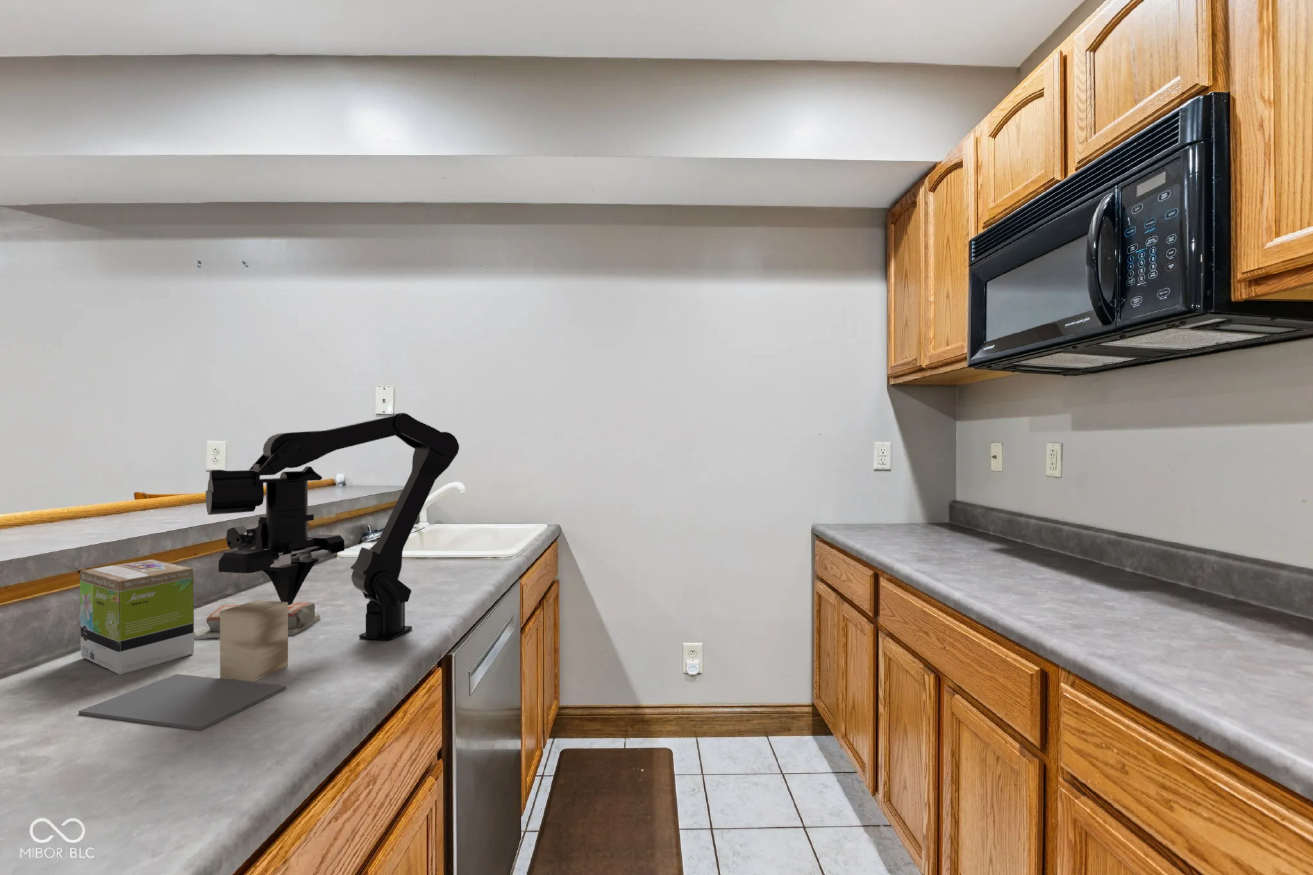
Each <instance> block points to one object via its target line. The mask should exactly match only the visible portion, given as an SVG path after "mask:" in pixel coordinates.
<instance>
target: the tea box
mask: <svg viewBox="0 0 1313 875" xmlns="http://www.w3.org/2000/svg"><path fill="white" fill-rule="evenodd" d="M194 584H195V581H194V568H193V567H188V566H184V565H179V564H174V563H170V562H166V561H160V560H156V559H152V558H151V559H146V560H140V561H139V560H138V561H132V562H127V563H126V562H125V563H121V564H120V563H119V564H114V565H113V564H112V565H108V566H102V567H97V568H96V567H95V568H90V569H83V570H82V569H81V570H80V571H79V595H80V596H79V597H80V598H79V611H80V612H79V613H80V621H79V622H80V656H81V657H82V659H86V660H89V661H91V662H93V663H94V664H97V665H99V666H101V667H102V668H106V669H108V670H109V671H111V672H114V673H115V674H117V675H119V676H121V675H124V674H127V673H128V674H129V673H132V672H136V671H138V670H143V669H146V668H150V667H153V666H157V665H160V664H164V663H166V662H171V661H173V660H174V661H175V660H177V659H181V658H184V657H188V656H190V655H192V654H194V653H195V639H194V634H195V625H194V624H195V616H194V615H195V611H194V607H195V605H194V604H195V603H194V602H195V601H194V600H195V599H194V597H195V596H194V589H195V588H194Z"/></svg>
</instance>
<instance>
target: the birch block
mask: <svg viewBox="0 0 1313 875" xmlns="http://www.w3.org/2000/svg"><path fill="white" fill-rule="evenodd" d="M241 604H242V605H239V606H235V607H232V608H229V609H225V610H222V611H220V638H219V652H220V653H219V679H228V680H232V679H234V680H236V679H237V681H241V680H244V681H245V680H246V681H247V682H250V681H253V682H255V681H254V680H256V679H258V680H260V679H262V678H264V677H266V675H267V676H269V675H271V674H273V673H276V672H277V670H278V671H280V670H282V669H285V668H286V667H289V636H288V602H281V601H275V600H263V599H262V600H261V599H260V600H259V599H257V600H256V599H255V600H252V601H249V602H246V603H241ZM284 667H285V668H284ZM279 669H280V670H279ZM268 674H269V675H268ZM263 676H264V677H263ZM259 678H260V679H259ZM256 681H257V680H256Z"/></svg>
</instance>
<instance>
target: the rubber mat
mask: <svg viewBox="0 0 1313 875" xmlns="http://www.w3.org/2000/svg"><path fill="white" fill-rule="evenodd" d="M286 689H287V685H283V684H282V685H281V684H273V683H263V682H256V681H253V682H250V681H241V680H232V679H223V678H220V677H219V678H218V677H210V676H209V677H208V676H198V675H191V674H190V675H189V674H181V673H176V674H173V675H170V676H168V677H165V678H162V679H159V680H157V681H154V682H152V683H148V684H145V685H143V686H141V687H138V688H135V689H133V690H130V691H128V692H125V693H122V694H119V695H117V696H114V697H112V698H109V699H107V700H104V701H102V702H99V703H96V704H94V705H90V706H88V707H86V708H82V709H80V710H78V715H84V716H89V717H98V718H106V719H112V720H113V719H114V720H119V721H127V722H135V723H142V724H150V725H157V726H164V727H171V728H172V727H173V728H179V729H187V730H194V731H203V730H204V729H206V728H208V727H211V726H213V725H215V724H217V723H219V722H221V721H223V720H225V719H227V718H230V717H231V716H233V715H236V714H237V713H239V712H241V711H243V710H245V709H247V708H249V707H252V706H254V705H255V704H257V703H260V702H262V701H264V700H266V699H268V698H270V697H272V696H274V695H276V694H279V693H280V692H282V691H284V690H286Z"/></svg>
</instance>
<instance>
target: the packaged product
mask: <svg viewBox="0 0 1313 875" xmlns="http://www.w3.org/2000/svg"><path fill="white" fill-rule="evenodd" d="M242 604H243V603H232V604H222V605H221V606H219V607H217V609H216V610H214V611H213V612H212V613H210V614H209V615H208V617H206V624H207V625H208V626H206V627H204V628H201V629H200V630H198V631H196V632H194V640H207V639H208V640H209V638H210V639H220V611H222V610H225V609H229V608H232V607H235V606H239V605H242ZM315 605H316V603H315V602H311V601H303V602H299V601H298V602H293V603H292V604H291V605H288V635H291V636H297V635H298V634H299V633H301V632H303V631H305V630H306V629H307V628H309V627H310V626H312V625H314V624H315V622H316V623H317V622H319V621H320V620H321V615H320V613H317V614H316V606H315ZM318 620H319V621H318Z"/></svg>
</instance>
